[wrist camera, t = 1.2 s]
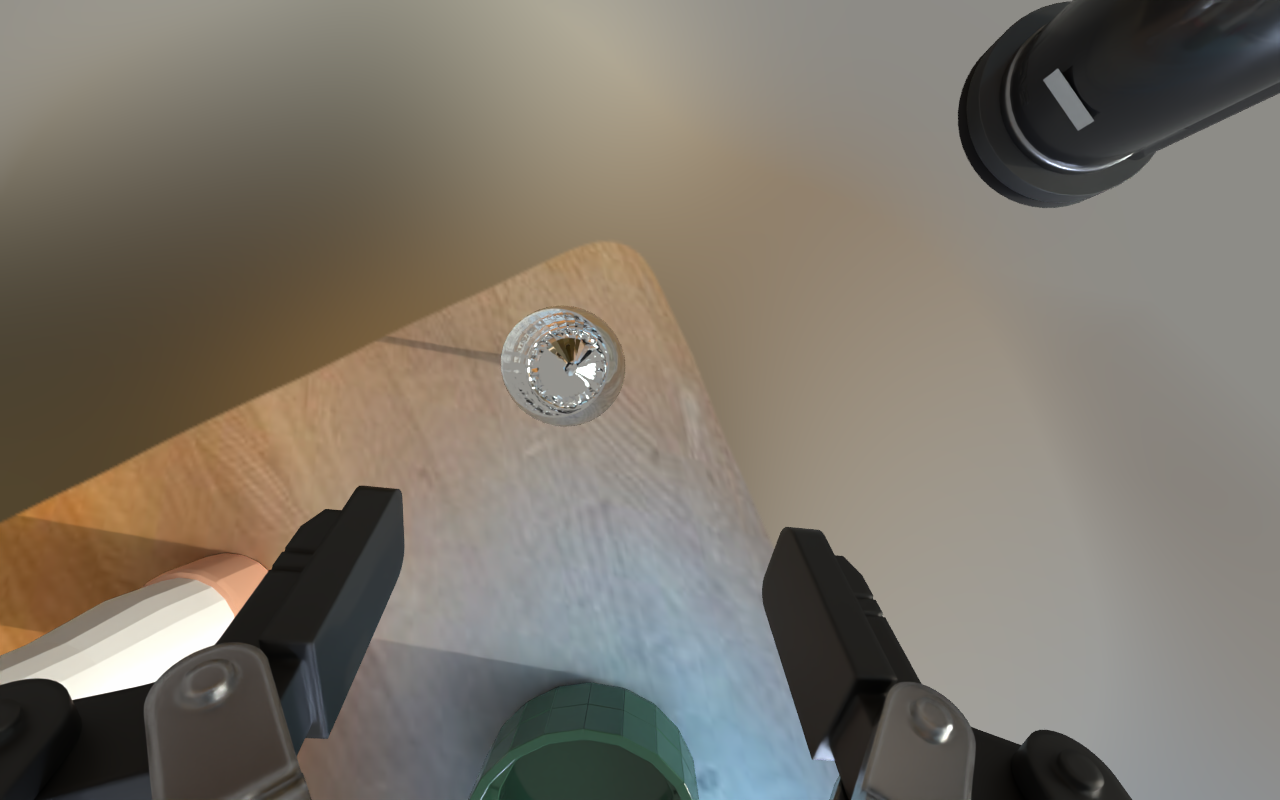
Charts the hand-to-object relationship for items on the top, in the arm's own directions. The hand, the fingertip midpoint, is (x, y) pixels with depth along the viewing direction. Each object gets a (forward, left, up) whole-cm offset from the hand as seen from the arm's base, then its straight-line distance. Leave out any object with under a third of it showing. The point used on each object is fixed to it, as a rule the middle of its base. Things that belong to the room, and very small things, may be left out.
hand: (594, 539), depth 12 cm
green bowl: (-2, +22, -24) cm, 32 cm away
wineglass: (+3, -4, -24) cm, 24 cm away
